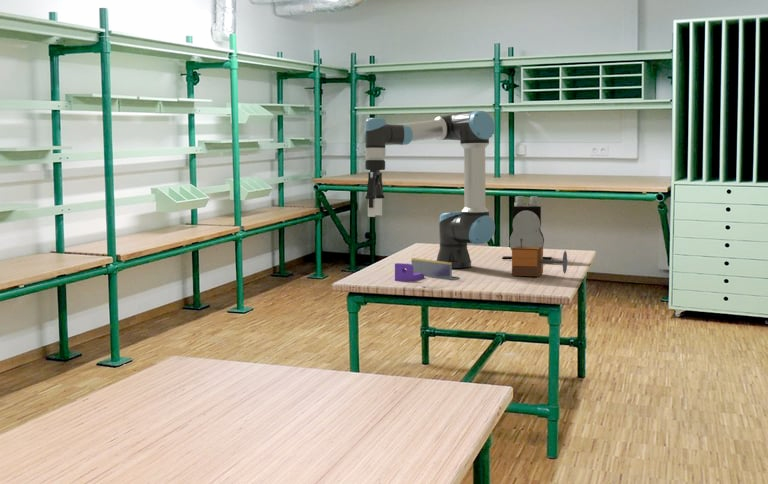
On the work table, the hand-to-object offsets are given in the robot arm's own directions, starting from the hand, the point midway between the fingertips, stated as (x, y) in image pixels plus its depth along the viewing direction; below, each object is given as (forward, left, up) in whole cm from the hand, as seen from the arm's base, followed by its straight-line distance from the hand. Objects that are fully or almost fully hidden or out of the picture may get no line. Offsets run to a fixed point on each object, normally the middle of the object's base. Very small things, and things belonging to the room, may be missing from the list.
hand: (375, 216), depth 324 cm
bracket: (-14, +3, -25) cm, 29 cm away
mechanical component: (-94, -13, -25) cm, 98 cm away
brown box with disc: (-63, +25, -25) cm, 72 cm away
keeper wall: (-25, +3, -25) cm, 35 cm away
